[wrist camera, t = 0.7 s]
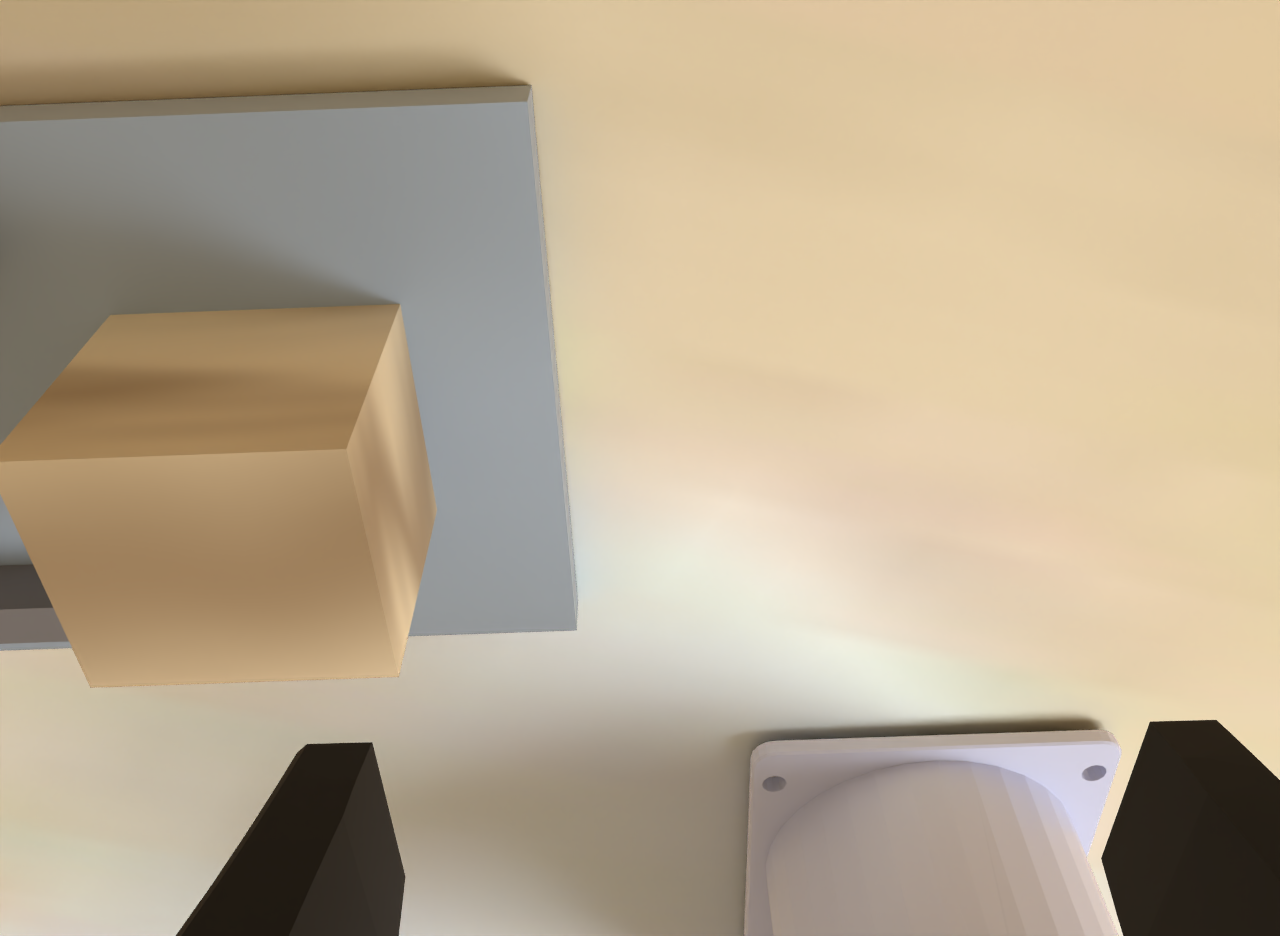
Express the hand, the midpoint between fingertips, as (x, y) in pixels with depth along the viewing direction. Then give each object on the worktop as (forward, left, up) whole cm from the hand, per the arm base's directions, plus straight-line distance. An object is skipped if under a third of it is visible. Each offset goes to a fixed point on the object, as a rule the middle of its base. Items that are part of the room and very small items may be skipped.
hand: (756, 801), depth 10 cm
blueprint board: (-1, +10, -9) cm, 14 cm away
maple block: (-1, +7, -9) cm, 11 cm away
